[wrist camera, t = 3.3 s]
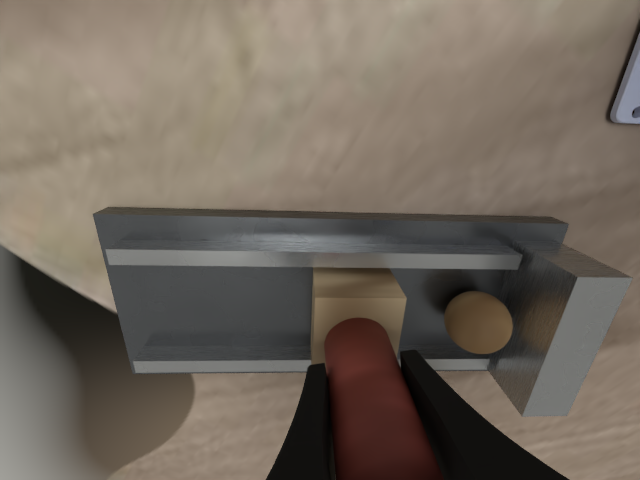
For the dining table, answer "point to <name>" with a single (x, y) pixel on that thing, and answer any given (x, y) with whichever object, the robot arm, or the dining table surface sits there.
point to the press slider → (367, 376)
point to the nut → (478, 322)
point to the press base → (354, 252)
